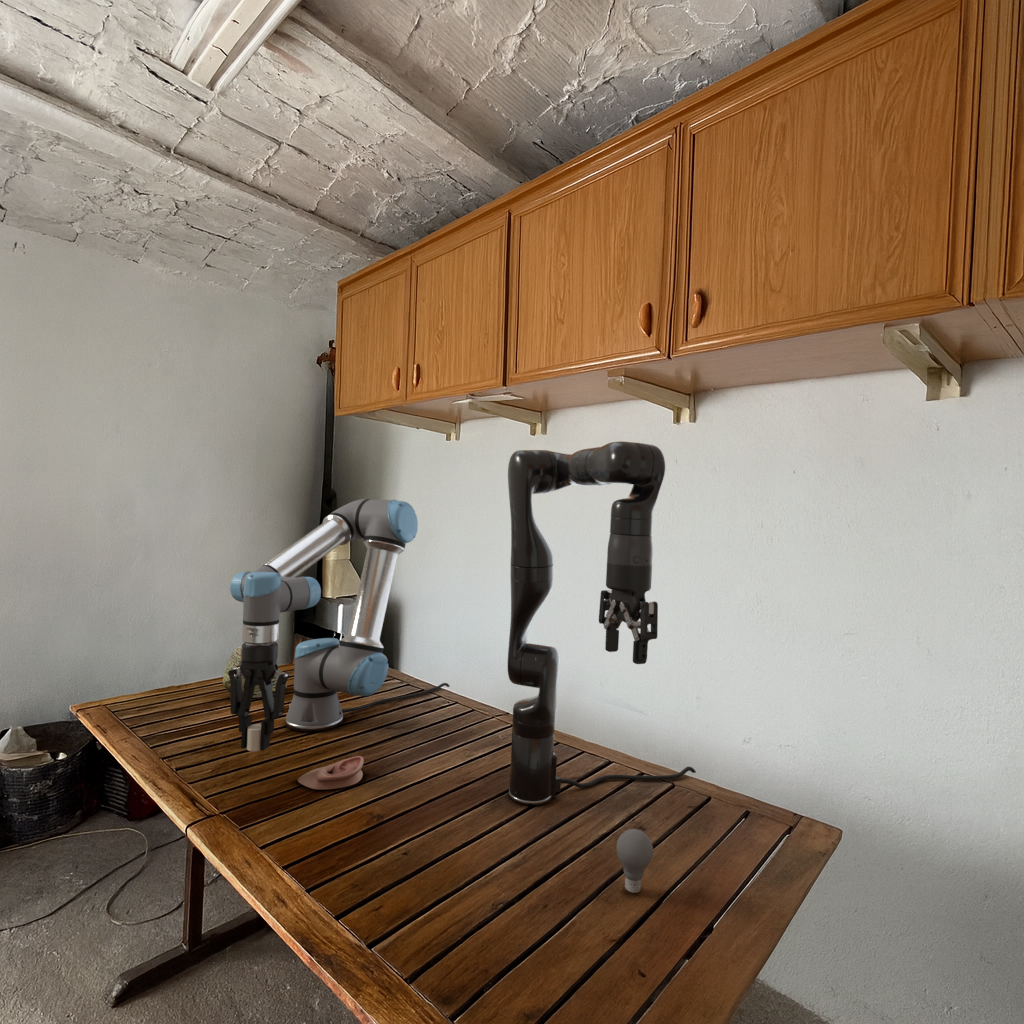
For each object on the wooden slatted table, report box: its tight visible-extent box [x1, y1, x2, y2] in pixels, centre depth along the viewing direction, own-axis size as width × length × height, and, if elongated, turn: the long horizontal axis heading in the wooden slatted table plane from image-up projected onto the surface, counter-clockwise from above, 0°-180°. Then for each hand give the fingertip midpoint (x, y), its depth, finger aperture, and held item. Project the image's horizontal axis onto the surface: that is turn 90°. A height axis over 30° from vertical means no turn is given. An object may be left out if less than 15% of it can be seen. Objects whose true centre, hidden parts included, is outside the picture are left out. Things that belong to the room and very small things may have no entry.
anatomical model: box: [297, 755, 364, 791], centre depth 142 cm, size 13×4×12 cm
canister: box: [246, 723, 261, 752], centre depth 141 cm, size 4×4×5 cm
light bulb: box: [615, 828, 654, 894], centre depth 106 cm, size 6×6×10 cm
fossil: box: [222, 646, 288, 699], centre depth 198 cm, size 9×18×15 cm, turn 132°
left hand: (255, 747), depth 141 cm, fingers closed on canister, 4 cm apart
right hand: (624, 657), depth 107 cm, fingers open, 8 cm apart
